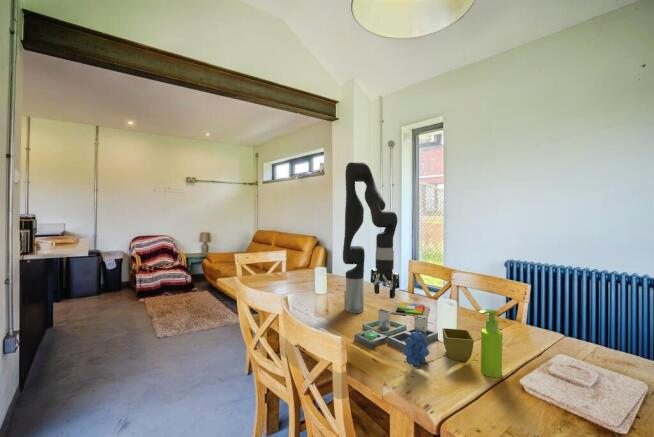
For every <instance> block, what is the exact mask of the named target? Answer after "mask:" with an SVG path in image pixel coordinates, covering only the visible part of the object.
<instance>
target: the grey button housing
mask: <svg viewBox="0 0 654 437" xmlns="http://www.w3.org/2000/svg"><path fill="white" fill-rule="evenodd" d="M367 332H373V333H376V334H377V338H375V339H373V340H369V339H367V338H365V337H364V334H365V333H367ZM353 337H354V338H353V339H354V341H355V342H357V343H359V344H361V345H363V346H365V347H366V348H369V349H373V348H376V347H377V346H379V345H382V344H384V343H388V337H389V336H385V335H383V334H380V333H378V332H376V331H374V330H371V329H370V330H364V331H362V332H359V333H358V332H357V333H355V334H354V336H353Z"/></svg>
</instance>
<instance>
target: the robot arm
mask: <svg viewBox="0 0 654 437" xmlns="http://www.w3.org/2000/svg"><path fill="white" fill-rule="evenodd" d="M344 175H345V212H344V238H343V246H342V261H343V264H345V265H355V266H354V267H353V268H351V269H348V270H347V271H346V272H345V291H344V292H343V293H344V295H343V298H344V299H343V300H344V301H343V302H344V305H343V306H344V308H343V309H344V310H345V311H346V312H347V313H350V314H360V313H363V312H364V302H365V301H364V297H365V296H364V289H365V288H364V287H365V286H364V285H365V283H364V282H365V280H364V279H365V278H364V277H365V257H366V255H365V254H366V253H365V248H364V247H363V246H361V245H355V246H354V245H352V242H353V239H354V238H355V235H356V234H357V232H359V230H360V229H361V226H362V225H363V223H364V218H365V216H364V214H365V212H364V211H365V210H364V205H363V203H362V201H361V200H360V197H359V196H358V194H357V190H356V182H357V183H359V182H363V183H364V184H365V191H364V199H365V200H364V201H365V202H366V204H367V206H368V208H369V211H370V217H371V222H372V224H373V225H374V226H375V227H376V228H384V230H383V231H382V232H379V233H378V234H376V239H375V240H376V241H375V242H376V244H375V245H376V246H375V248H376V249H375V268H373V269H371V270H370V283H371V284H373V286H374V288H373V290H374V291H373V292H374V294H375V295H378V294H379V295H380V283H381V282H383V283H386V285H387V287H388V288H389V299H394V298H396V289H400V274H399V273H393V271H394V266H395V265H394V261H395V260H394V259H395V258H394V256H395V255H394V236H395V232H396V230H397V227H398V226H397V225H398V215H397V214H396V212H395V211H393V210H385V209H386V202H385V200H384V199H383V197H382V195H381V194H380V192H379V189H378V187H377V184H376V182H375V179H374V176H373V173H372V170H371V168H370V166H369V164H367V163H366V162H348V163H347V164H346V166H345V174H344Z"/></svg>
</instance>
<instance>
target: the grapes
mask: <svg viewBox="0 0 654 437" xmlns="http://www.w3.org/2000/svg"><path fill="white" fill-rule="evenodd" d="M410 337H411V338H407V339H406V340H405V344H406V346H408V347H405V348H404V350H402V352H403V354H404V356H405V361H406V363H407V364H408V365H409V366H411V365H412V367H413V368H416V369H417V368H418V367H419V366H421V364H425V363H426V362H427V360H426V357H428V356H429V355H430V350H429V349H428V348H427V347H429V344H430V342H429V343H428V341H427V339H425V337H424V334H423V333H421V332H419V333H416V332H412V333H411V334H410Z"/></svg>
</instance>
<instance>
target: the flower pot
mask: <svg viewBox="0 0 654 437" xmlns="http://www.w3.org/2000/svg"><path fill="white" fill-rule="evenodd" d="M442 338H443V340H442V341H443V346H444V349H445V351H446V354H447V357H448V359H449V360H455V361H456V360H457V361H460V363H467V362H468V361H469V360H470V359H471V357H472V354H473V350H474V349H473V348H474V342H475V339H474V337H473V336H472V335H471V333H470V332H469V330H468V329H458V328H446V327H444V328H442Z"/></svg>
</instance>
